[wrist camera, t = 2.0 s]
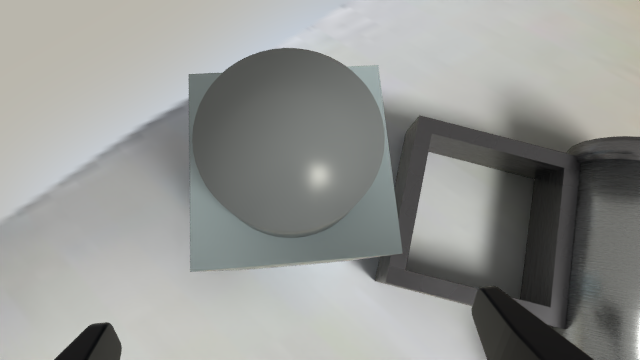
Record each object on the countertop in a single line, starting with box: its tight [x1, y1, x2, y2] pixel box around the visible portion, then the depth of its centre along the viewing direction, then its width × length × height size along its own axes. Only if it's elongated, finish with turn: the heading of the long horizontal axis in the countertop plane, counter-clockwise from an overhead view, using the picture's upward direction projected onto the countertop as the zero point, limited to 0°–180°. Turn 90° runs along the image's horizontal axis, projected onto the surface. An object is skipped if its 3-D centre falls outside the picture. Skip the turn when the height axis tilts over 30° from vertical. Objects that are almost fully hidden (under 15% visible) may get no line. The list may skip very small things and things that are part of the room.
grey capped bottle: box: [189, 48, 403, 272], centre depth 14 cm, size 5×5×13 cm
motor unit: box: [375, 116, 640, 360], centre depth 18 cm, size 13×13×5 cm
